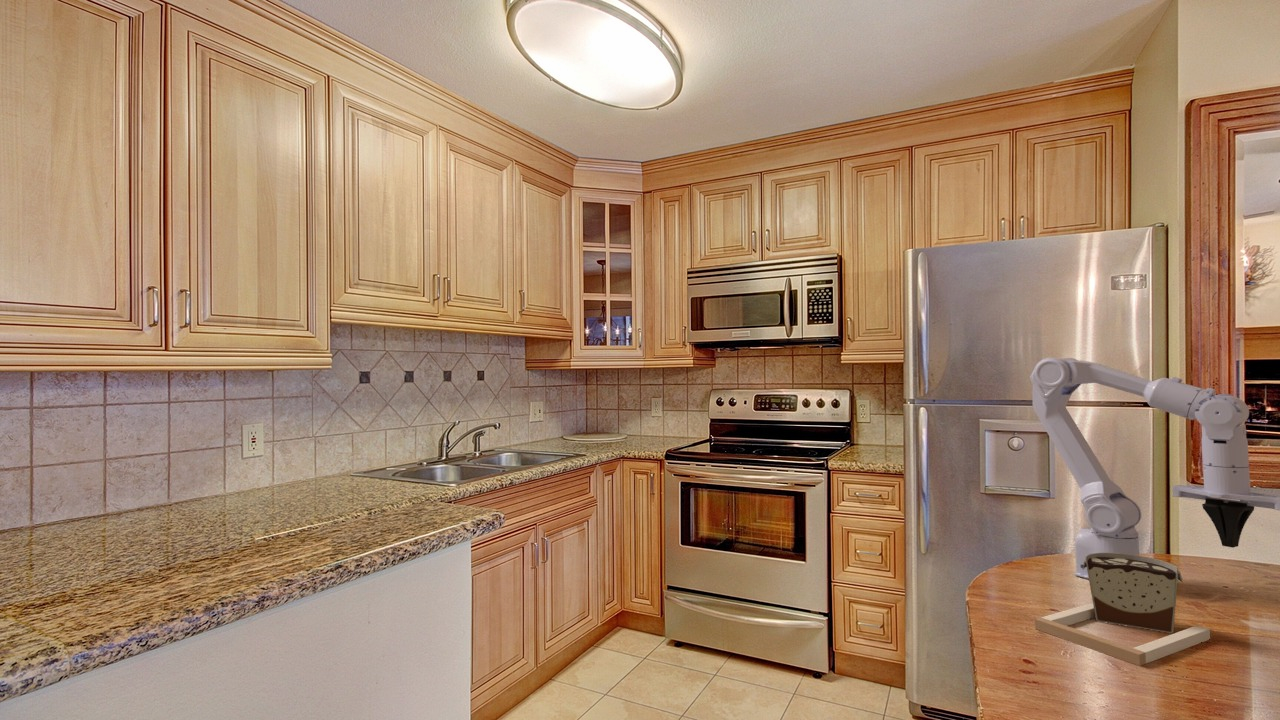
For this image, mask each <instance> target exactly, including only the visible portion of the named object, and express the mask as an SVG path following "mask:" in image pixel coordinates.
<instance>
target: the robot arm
mask: <svg viewBox="0 0 1280 720" xmlns="http://www.w3.org/2000/svg"><path fill="white" fill-rule="evenodd" d="M1029 379H1030V382H1031V384H1032V408H1033V411H1034V413H1035V415H1036V416H1037V418H1038V420H1039V421H1040V423H1041V425H1042V426H1043V428H1044V430H1045V431H1046V433H1047V435H1048V437H1049V438H1050V440H1051V441H1052V443H1053V445H1054V447H1055V448H1056V450H1057V452H1058V453H1059V455H1060V457H1061V458H1062V460H1063V461H1064V463H1065V466H1066V467H1067V469H1068V471H1069V472H1070V473H1071V475H1072V476H1073V478H1074V480H1075V482H1076V483H1077V485H1078V487H1079V488H1080V502H1081V504H1082V505H1083V507H1084V511H1085V514H1084V515H1085V516H1084V517H1085V521H1086V523H1087V524H1088V525H1089V527H1090V528H1082V529H1080V530H1079V531H1078V532H1077V533H1076V537H1075V540H1074V541H1075V542H1074V543H1075V545H1074V546H1075V548H1074V550H1075V567H1076V568H1075V570H1076V572H1074V574H1073V575H1074V576H1076V577H1081V578H1084V579H1088V580H1089V577H1088V571H1087V567H1085V568H1084V570H1082V569H1083V563H1084V560H1085V559H1086V556H1087V555H1089V554H1093V553H1122V554H1131V555H1138V556H1140V538H1139V533H1138V531H1137V529H1136V526H1137V525H1139V523H1140V522H1141V519H1142V510H1141V508H1140V506H1139V505H1138V504H1137V502H1136V501H1134V500H1133V499H1131V498H1130V497H1129V496H1127V495H1126V494H1125V493H1124V491H1123V489H1122V488H1121V487H1120V486H1119V485H1118V484H1117V483H1115V482H1114V481H1113V480H1111V478H1110V477H1109V475H1108V474H1107V472H1106V470H1105V469H1104V467H1103V465H1102V464H1101V462H1100V461H1099V459H1098V457H1097V455H1096V454H1095V452H1094V451H1093V449H1092V447H1091V446H1090V445H1089V443H1088V442H1087V440H1086V438H1085V436H1084V434H1083V433H1082V431H1081V430H1080V429H1079V427H1078V425H1077V424H1076V422H1075V421H1074V418H1073V417H1072V416H1071V414H1070V412H1069V410H1068V409H1067V405H1068V403H1069V401H1070V399H1071V396H1072V394H1073V393H1074V392H1075V391H1076V390H1077V389H1078V388H1079V387H1080V386H1081V385H1082V384H1083V385H1084V384H1098V385H1102V386H1105V387H1109V388H1112V389H1116V390H1119V391H1123V392H1126V393H1130V394H1133V395H1136V396H1140V397H1142V398H1144V400H1145V401H1146V403H1147V405H1149V406H1150V408H1155V409H1158V410H1161V411H1162V412H1166V413H1169V414H1172V415H1176V416H1178V417H1182V418H1185V419H1187V420H1191V421H1193V420H1197V422H1198V423H1199V424H1200V425H1201V435H1202V436H1201V440H1200V441H1201V453H1202V455H1201V457H1202V474H1203V486H1193V485H1192V486H1191V485H1184V484H1183V485H1181V484H1178V485H1172V497H1175V498H1188V499H1194V500H1195V499H1196V500H1202V501H1204V503H1202V504H1201V507H1202V509H1203V510H1204V511H1205V513H1206V515H1207V516H1208V517H1209V518H1210V520H1211V522H1212V524H1213V525H1214V527H1215V529H1216V531H1217V534H1218V536H1219V537H1218V538H1219V539H1220V543H1221V546H1222V547H1228V548H1233V549H1234V548H1237V547H1239V542H1240V540H1241V539H1240V538H1241V535H1242V532H1243V529H1244V527H1245V526H1246V525H1245V524H1246V523H1247V521H1248V519H1249V517H1250V516H1251V515H1252V513H1253V512H1254V510H1255V508H1262V509H1263V508H1264V509H1271V510H1275V511H1280V496H1277V495H1270V494H1264V493H1258V492H1253V491H1251V477H1250V476H1251V475H1250V457H1249V443H1248V442H1249V441H1248V439H1247V428H1246V426H1247V425H1246V424H1244V423H1246V422H1247V420H1248V418H1249V416H1250V409H1249V406H1248V405H1247V404H1246V402H1244V401H1243V400H1242V399H1241V398H1239V397H1236V396H1234V395H1233V394H1230V393H1221V394H1216V389H1214V388H1212V387H1211V388H1210V387H1207V388H1206V389H1205V388H1202V387H1198V386H1194V385H1191V384H1188V383H1184V382H1182V381H1183V379H1182V378H1180V377H1176V376H1171V377H1170V378H1167V377H1161V378H1158V379H1155V380H1153V381H1152V380H1149V379H1146V378H1144V377H1140V376H1137V375H1134V374H1131V373H1128V372H1126V371H1122V370H1120V369H1115V368H1113V367H1109V366H1106V365H1103V364H1101V363H1097V362H1092V361H1088V360H1087V361H1086V360H1078V359H1076V358H1073V357H1063V358H1058V357H1057V358H1056V357H1046V358H1043V359H1042V360H1040V361H1038V362H1037V363H1036V365H1035V367H1034V368H1033V370H1032V372H1031V374H1030V376H1029Z"/></svg>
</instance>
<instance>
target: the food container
mask: <svg viewBox="0 0 1280 720" xmlns="http://www.w3.org/2000/svg"><path fill="white" fill-rule="evenodd" d="M1085 567H1087V571H1088V577H1089V579H1088V581H1089V582H1088V583H1089V586H1090V587H1089V588H1090V594H1091V600H1092V603H1093V606H1094V612H1095V617H1094V618H1095V622H1097V621H1099V622H1098V623H1103V622H1107V623H1106V624H1109V623H1113V624H1112V625H1115V624H1120V625H1119V626H1121V625H1127V626H1132V627H1131V628H1133V627H1139V628H1138V629H1140V628H1144V629H1143V630H1146V629H1152V630H1156V631H1155V632H1158V631H1161V632H1160V633H1164V632H1167V633H1166V634H1170V633H1173V634H1174V628H1175V616H1176V615H1175V614H1176V603H1177V593H1178V581H1180V582H1181V583H1184V580H1183V577H1182V574H1181V572H1180V571H1179V568H1178V566H1176V565H1174V564H1173V563H1170V562H1167V561H1164V560H1161V559H1157V558H1154V557H1148V556H1143V555H1139V556H1138V555H1131V554H1122V553H1093V554H1089V555H1087V556H1086V559H1085V560H1084V563H1083V569H1082V570H1084V568H1085ZM1127 626H1126V627H1127ZM1152 630H1151V631H1152Z"/></svg>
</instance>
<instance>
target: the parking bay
mask: <svg viewBox="0 0 1280 720" xmlns="http://www.w3.org/2000/svg"><path fill="white" fill-rule="evenodd" d="M1090 618H1091V619H1094V618H1096V617H1095V612H1094V606H1093V602H1090V603H1087V604H1084V605H1083V604H1082V605H1080V606H1075V607H1073V608H1069V609H1066V610H1063V611H1058V612H1056V613H1052V614H1049V615H1045V616H1042V617H1041V616H1040V617H1038V618H1035V619H1034V622H1035V623H1034V628H1035V630H1038V631H1040V632H1043V633H1046V634H1049V635H1051V636H1054V637H1058V638H1060V639H1063V640H1066V641H1068V642H1071V643H1073V644H1077V645H1080V646H1083V647H1085V648H1088V649H1091V650H1094V651H1096V652H1100V653H1102V654H1105V655H1107V656H1111V657H1114V658H1117V659H1120V660H1122V661H1124V662H1125V661H1126V662H1128V663H1131V664H1133V665H1136V666H1140V667H1141V666H1143V665H1144V666H1145V664H1148V663H1151V662H1153V661H1156V660H1159V659H1162V658H1164V657H1167V656H1170V655H1173V654H1175V653H1178V652H1180V651H1183V650H1186V649H1188V648H1192V647H1193V646H1197V645H1199V644H1201V642H1202V643H1204V642H1207V641H1209V639H1210V640H1211V631H1210V630H1211V629H1210V628H1208V627H1204V626H1201V625H1194V626H1192V627H1188V628H1186V629H1183V630H1180V631H1177V632H1175V633H1174V632H1173V634H1169V635H1166V636H1163V637H1161V638H1157V639H1155V640H1152V641H1149V642H1146V643H1144V644H1141V645H1137V646H1135V647H1130V646H1127V645H1124V644H1121V643H1118V642H1115V641H1113V640H1109V639H1106V638H1103V637H1101V636H1098V635H1095V634H1092V633H1088V632H1085V631H1083V630H1079V629H1077V628H1074V627H1072V626H1071V625H1074V624H1077V623H1080V622H1081V623H1082V622H1084V621H1087V619H1088V620H1091V619H1090Z"/></svg>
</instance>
